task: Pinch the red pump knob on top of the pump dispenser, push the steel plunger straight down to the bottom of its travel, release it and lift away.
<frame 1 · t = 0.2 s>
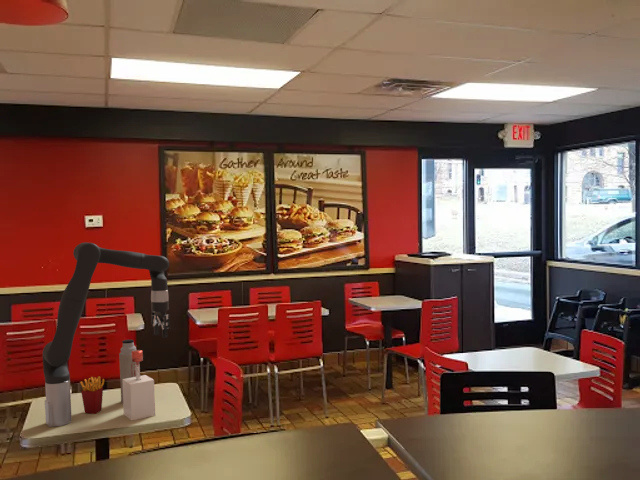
hand: (160, 336, 270), 29 cm above the table, fingers open, 8 cm apart
thermos bottle: (130, 402, 271), on the table
pump plunger: (137, 374, 252), point 17 cm above the table, slide at 0.0 cm
french fries: (93, 411, 259), on the table
pump dispenser: (139, 414, 253), on the table
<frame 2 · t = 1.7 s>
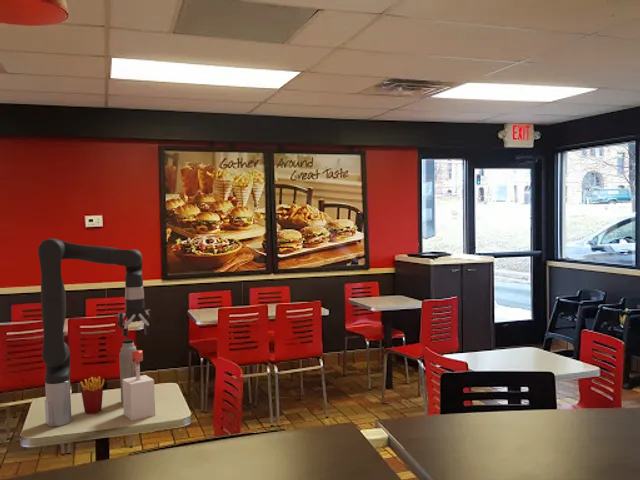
hand: (136, 335, 251), 33 cm above the table, fingers open, 8 cm apart
nothing on the table moved.
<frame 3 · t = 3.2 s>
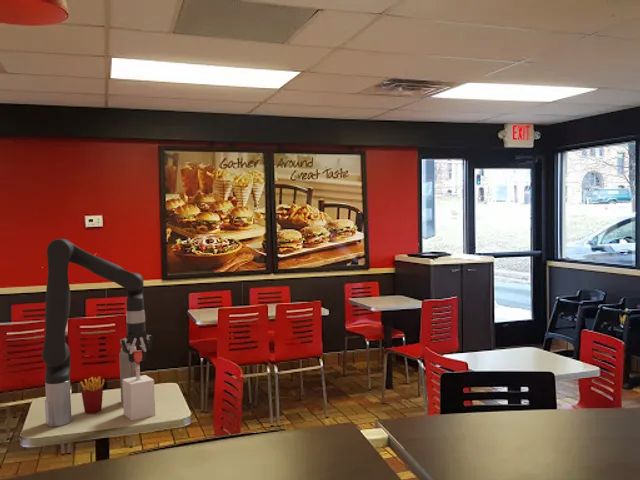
hand: (137, 361, 252), 23 cm above the table, fingers closed on pump plunger, 4 cm apart
pump plunger: (137, 374, 252), point 17 cm above the table, slide at 0.0 cm, touching gripper
everything else where it was.
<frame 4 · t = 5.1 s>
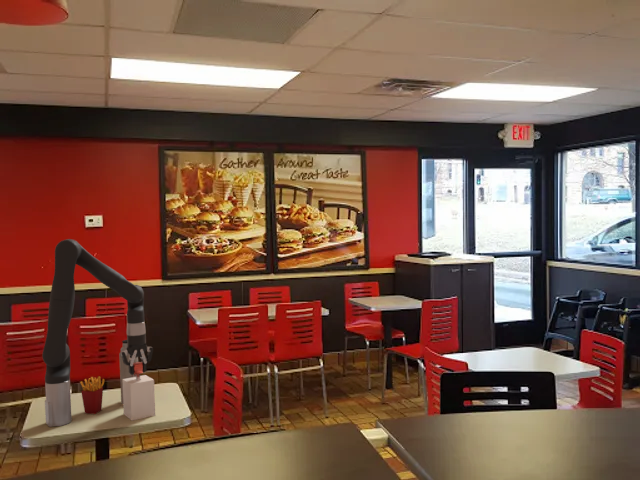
hand: (137, 373, 252), 18 cm above the table, fingers closed on pump plunger, 4 cm apart
pump plunger: (138, 386, 253), point 12 cm above the table, slide at 5.1 cm, touching gripper
everything else where it was.
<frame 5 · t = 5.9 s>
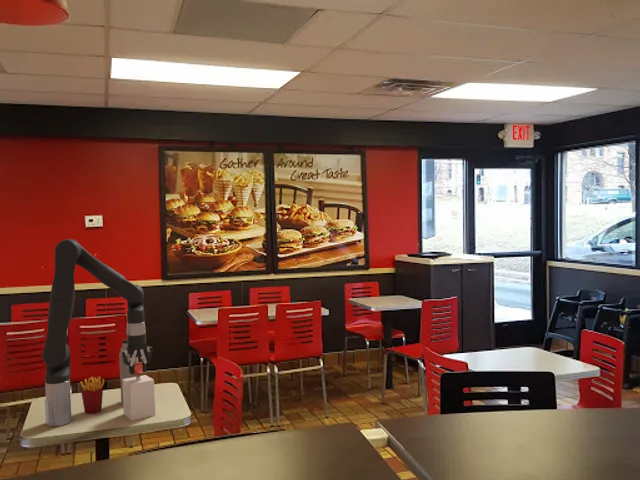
hand: (137, 373, 252), 18 cm above the table, fingers closed on pump plunger, 4 cm apart
pump plunger: (138, 386, 253), point 12 cm above the table, slide at 5.1 cm, touching gripper
everything else where it was.
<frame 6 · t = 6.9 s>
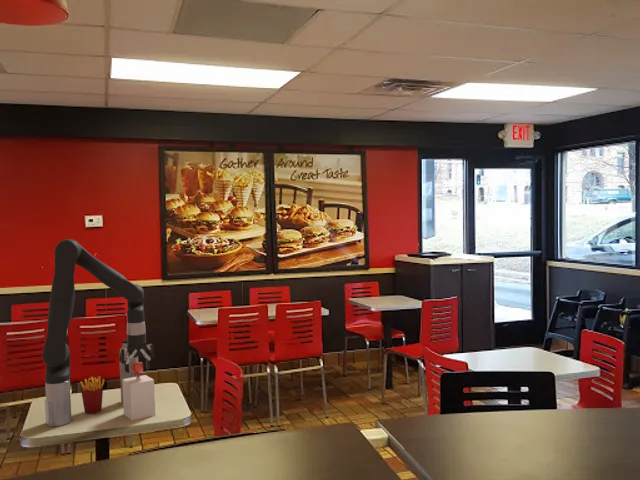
hand: (137, 370, 252), 19 cm above the table, fingers open, 8 cm apart
pump plunger: (138, 386, 253), point 12 cm above the table, slide at 5.1 cm
everything else where it was.
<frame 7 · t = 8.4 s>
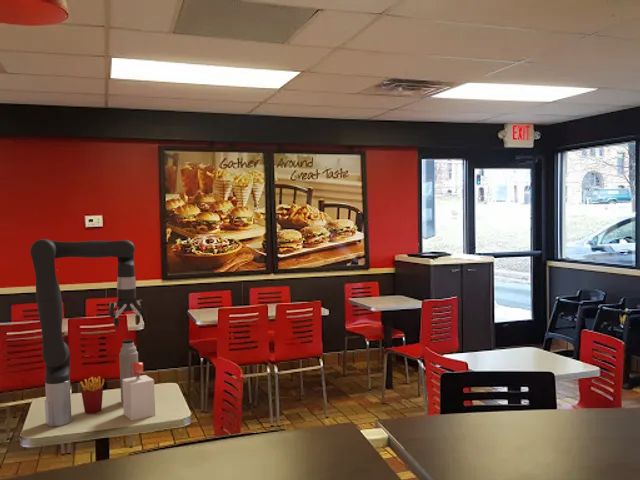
hand: (127, 325, 254), 37 cm above the table, fingers open, 8 cm apart
nothing on the table moved.
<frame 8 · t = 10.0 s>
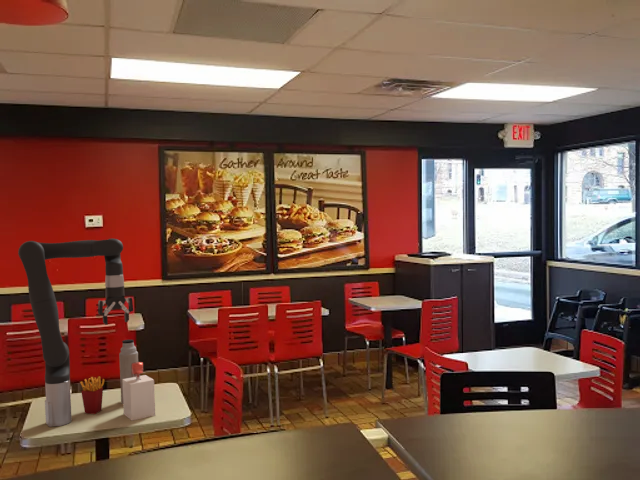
hand: (116, 323, 256), 38 cm above the table, fingers open, 8 cm apart
nothing on the table moved.
at the end: pump plunger slide at 5.1 cm; the gripper is holding nothing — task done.
